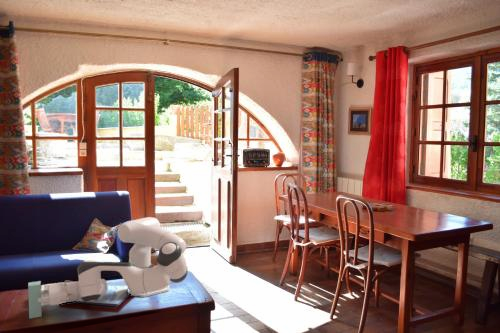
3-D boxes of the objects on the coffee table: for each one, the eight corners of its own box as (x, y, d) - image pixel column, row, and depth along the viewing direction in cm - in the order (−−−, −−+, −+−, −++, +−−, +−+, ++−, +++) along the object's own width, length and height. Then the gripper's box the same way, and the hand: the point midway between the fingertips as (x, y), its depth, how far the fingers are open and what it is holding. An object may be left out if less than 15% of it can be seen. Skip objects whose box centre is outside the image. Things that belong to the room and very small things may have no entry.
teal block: (41, 312, 196) (40, 281, 195) (41, 316, 192) (40, 284, 191) (29, 314, 194) (28, 282, 193) (29, 318, 190) (28, 286, 189)
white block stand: (73, 290, 225) (72, 278, 225) (76, 302, 209) (75, 289, 209) (31, 296, 216) (30, 284, 216) (30, 309, 200) (30, 295, 200)
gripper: (72, 305, 189) (38, 311, 183) (68, 291, 208) (37, 296, 201) (72, 292, 189) (37, 297, 183) (68, 279, 207) (37, 283, 201)
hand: (37, 296), depth 192 cm, fingers open, 8 cm apart
